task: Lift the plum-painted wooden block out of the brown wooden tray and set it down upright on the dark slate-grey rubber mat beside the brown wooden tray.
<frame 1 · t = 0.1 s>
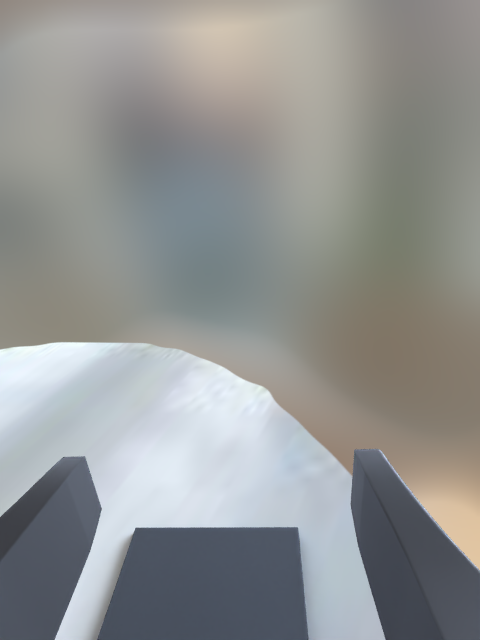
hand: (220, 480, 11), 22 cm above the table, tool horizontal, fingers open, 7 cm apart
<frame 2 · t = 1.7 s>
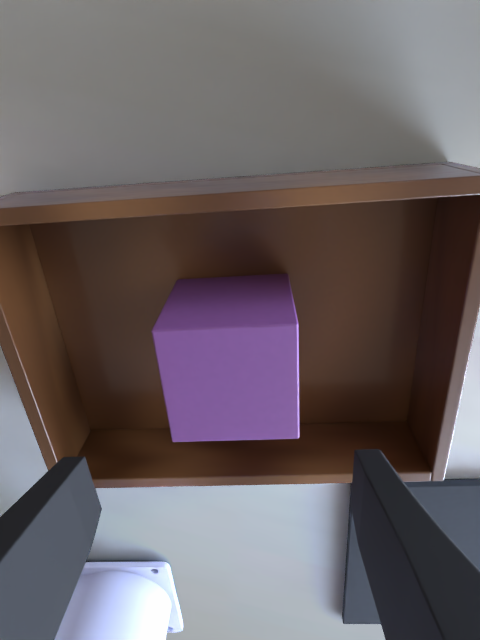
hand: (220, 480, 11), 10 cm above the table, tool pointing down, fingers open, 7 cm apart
block: (236, 325, 19), point 1 cm above the table, touching brown wooden tray
brown wooden tray: (236, 320, 20), on the table
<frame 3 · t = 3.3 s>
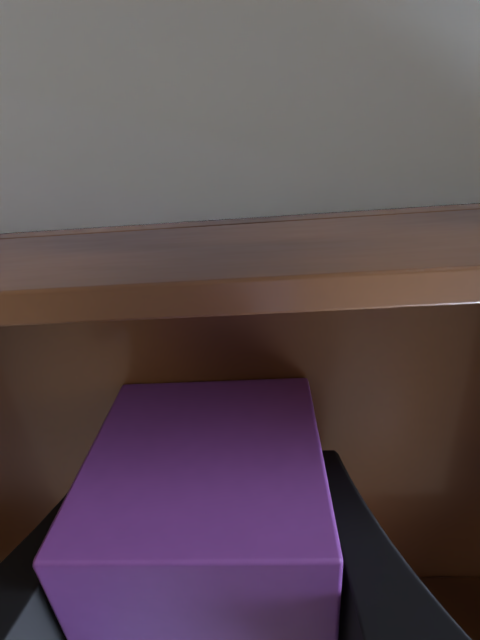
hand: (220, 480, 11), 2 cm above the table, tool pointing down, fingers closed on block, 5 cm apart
block: (222, 450, 12), point 1 cm above the table, touching brown wooden tray, gripper
brown wooden tray: (224, 436, 12), on the table
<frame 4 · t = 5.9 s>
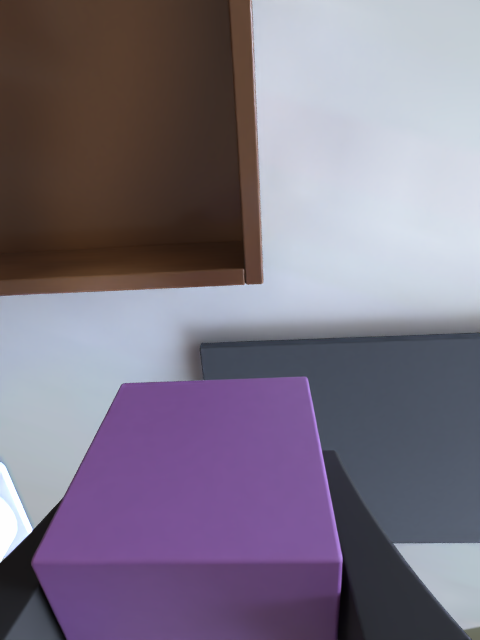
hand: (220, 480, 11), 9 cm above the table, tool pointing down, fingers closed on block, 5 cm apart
mat: (399, 449, 22), on the table
block: (221, 449, 12), point 8 cm above the table, touching gripper
brown wooden tray: (6, 86, 15), on the table
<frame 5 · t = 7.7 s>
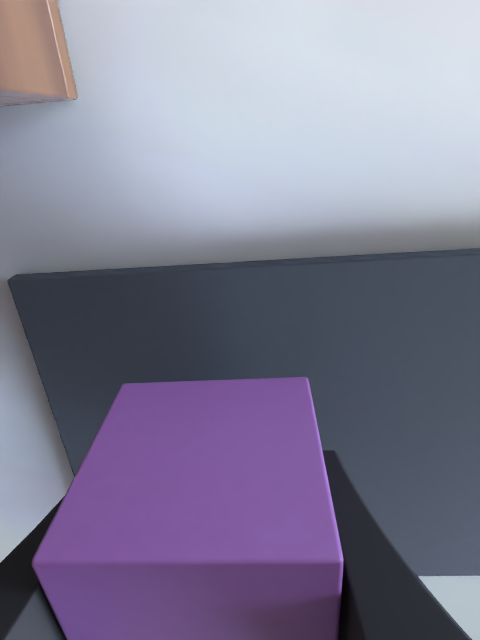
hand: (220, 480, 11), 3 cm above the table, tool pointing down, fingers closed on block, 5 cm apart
mat: (343, 442, 15), on the table
block: (221, 449, 12), point 2 cm above the table, touching gripper
when the fingers open (2 cm above the table, at t = 8.9 s): block stays where it is, resting on mat.
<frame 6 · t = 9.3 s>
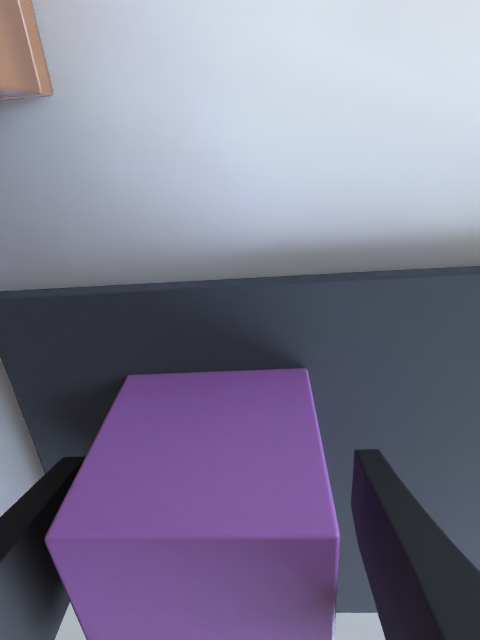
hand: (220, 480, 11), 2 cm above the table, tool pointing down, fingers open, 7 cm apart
mat: (352, 473, 13), on the table
block: (223, 439, 12), resting on mat
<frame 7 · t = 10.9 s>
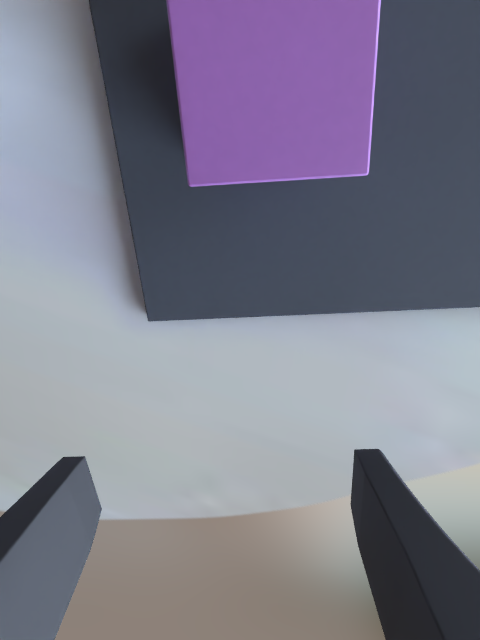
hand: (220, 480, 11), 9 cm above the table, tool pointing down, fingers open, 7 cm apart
mat: (375, 143, 16), on the table
block: (269, 90, 15), resting on mat
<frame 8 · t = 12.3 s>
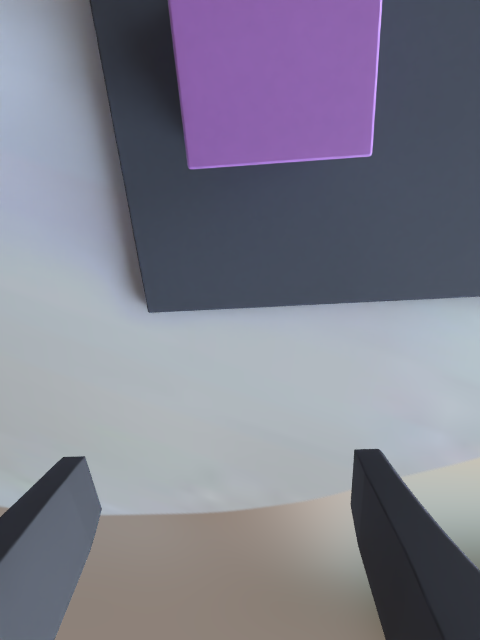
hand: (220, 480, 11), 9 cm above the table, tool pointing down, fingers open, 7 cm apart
mat: (377, 128, 15), on the table
block: (270, 74, 14), resting on mat
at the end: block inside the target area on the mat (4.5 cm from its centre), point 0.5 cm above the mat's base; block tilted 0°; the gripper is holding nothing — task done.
